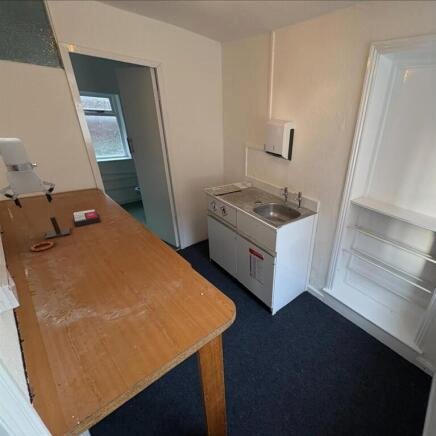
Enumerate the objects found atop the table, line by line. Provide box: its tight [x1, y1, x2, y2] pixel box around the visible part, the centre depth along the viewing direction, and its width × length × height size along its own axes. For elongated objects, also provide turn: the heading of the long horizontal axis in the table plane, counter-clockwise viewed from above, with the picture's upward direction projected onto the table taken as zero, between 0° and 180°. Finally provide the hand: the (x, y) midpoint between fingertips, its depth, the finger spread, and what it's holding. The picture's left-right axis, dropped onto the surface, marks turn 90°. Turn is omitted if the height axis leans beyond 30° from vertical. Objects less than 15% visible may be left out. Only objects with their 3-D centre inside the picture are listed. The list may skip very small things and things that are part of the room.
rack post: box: [45, 215, 71, 240], centre depth 123 cm, size 9×9×10 cm
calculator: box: [72, 208, 100, 227], centre depth 141 cm, size 11×4×15 cm
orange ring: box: [30, 241, 55, 252], centre depth 112 cm, size 8×8×1 cm
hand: (35, 204), depth 108 cm, fingers open, 9 cm apart
